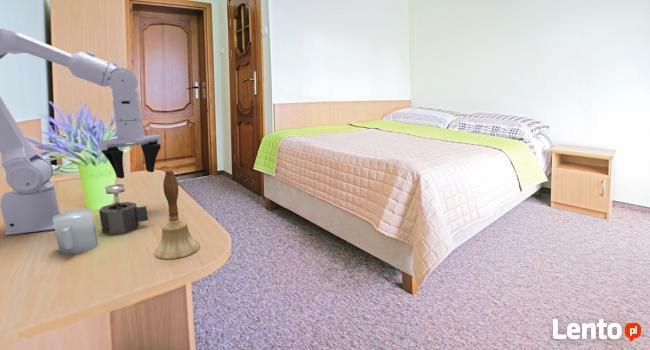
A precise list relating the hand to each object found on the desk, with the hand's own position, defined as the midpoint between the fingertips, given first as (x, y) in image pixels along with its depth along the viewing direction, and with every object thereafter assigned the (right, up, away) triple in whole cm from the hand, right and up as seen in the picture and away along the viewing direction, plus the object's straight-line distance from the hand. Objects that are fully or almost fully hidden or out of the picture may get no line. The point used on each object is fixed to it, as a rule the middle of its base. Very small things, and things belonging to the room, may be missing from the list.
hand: (135, 174), depth 87 cm
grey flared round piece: (+1, -9, -9) cm, 13 cm away
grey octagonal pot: (+2, -12, -8) cm, 15 cm away
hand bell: (+18, -15, -19) cm, 30 cm away
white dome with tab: (-2, -15, -17) cm, 23 cm away
